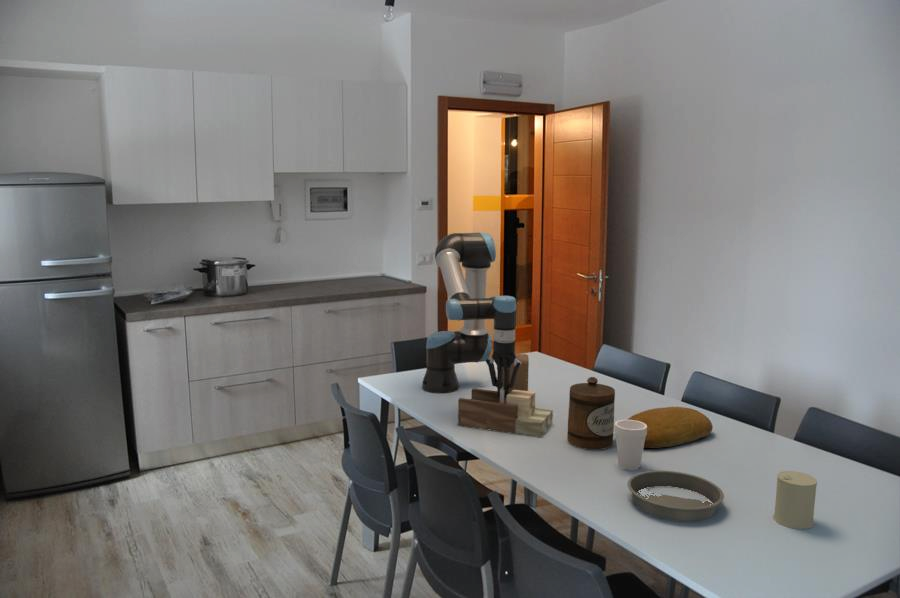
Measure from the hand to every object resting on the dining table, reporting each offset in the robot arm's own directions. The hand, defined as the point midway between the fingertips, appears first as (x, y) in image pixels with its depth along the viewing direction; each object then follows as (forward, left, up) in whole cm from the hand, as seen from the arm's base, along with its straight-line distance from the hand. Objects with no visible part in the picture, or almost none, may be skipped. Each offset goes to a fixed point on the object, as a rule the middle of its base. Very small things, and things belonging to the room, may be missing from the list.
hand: (502, 406), depth 252 cm
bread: (-10, +54, -7) cm, 55 cm away
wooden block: (-20, -2, -7) cm, 22 cm away
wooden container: (+5, +32, -7) cm, 33 cm away
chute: (0, +1, -7) cm, 7 cm away
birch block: (0, +7, -2) cm, 7 cm away
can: (+41, +91, -7) cm, 100 cm away
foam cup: (+21, +47, -7) cm, 52 cm away
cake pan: (+42, +62, -7) cm, 75 cm away
